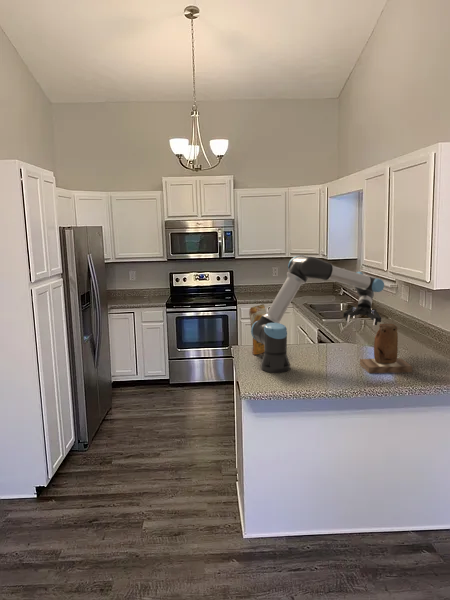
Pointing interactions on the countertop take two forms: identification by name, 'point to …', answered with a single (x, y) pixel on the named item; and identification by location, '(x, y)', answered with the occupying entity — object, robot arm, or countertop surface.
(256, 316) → the pancake mix bag
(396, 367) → the plinth
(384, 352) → the catalogued terracotta fragment
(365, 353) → the countertop surface
